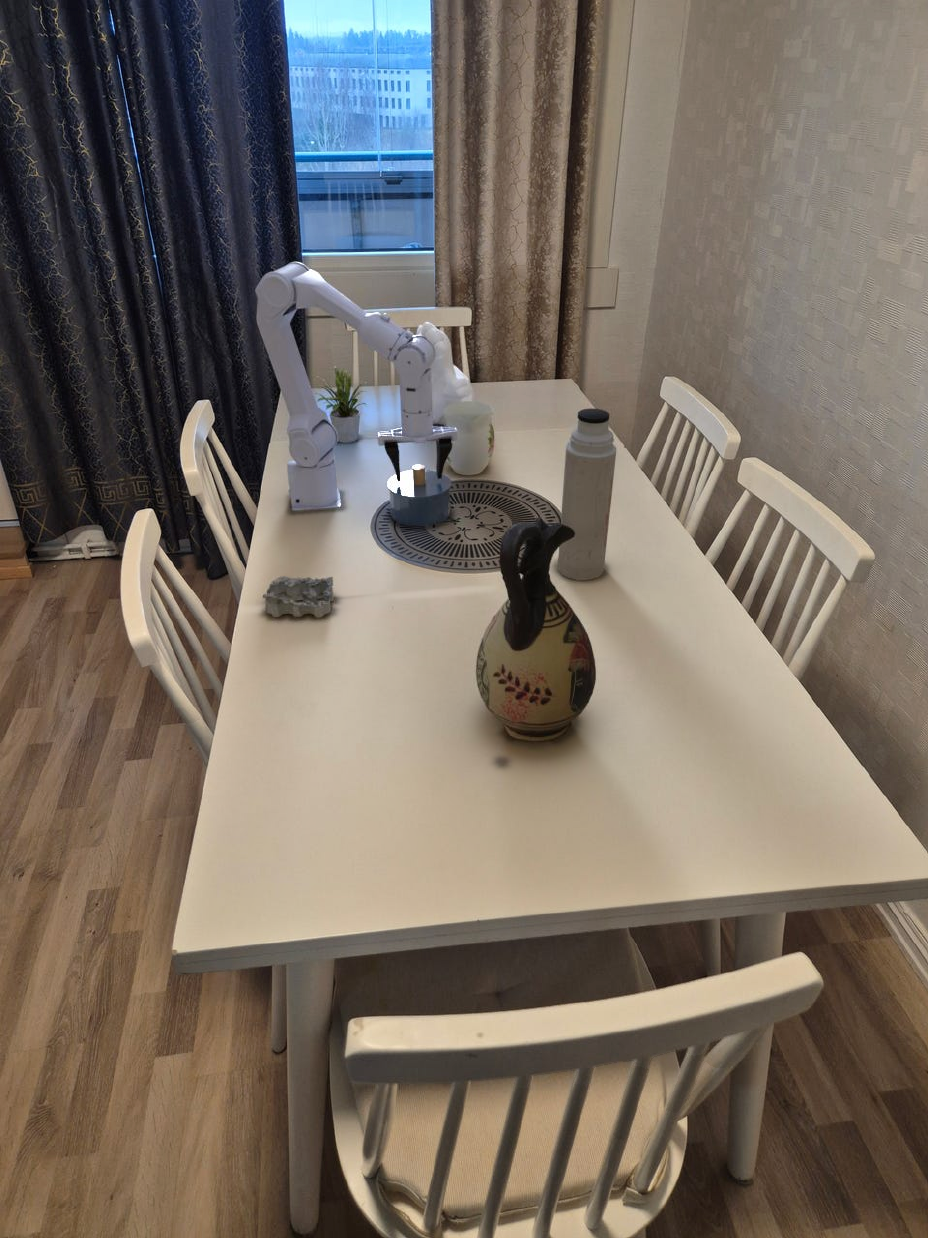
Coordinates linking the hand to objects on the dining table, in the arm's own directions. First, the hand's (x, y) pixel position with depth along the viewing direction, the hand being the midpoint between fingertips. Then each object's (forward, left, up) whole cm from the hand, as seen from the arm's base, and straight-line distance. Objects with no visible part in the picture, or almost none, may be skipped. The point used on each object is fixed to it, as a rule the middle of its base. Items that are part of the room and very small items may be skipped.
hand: (418, 477), depth 159 cm
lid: (0, 0, -2) cm, 2 cm away
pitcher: (+13, +21, -8) cm, 26 cm away
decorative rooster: (+11, +45, -8) cm, 47 cm away
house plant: (-13, +43, -8) cm, 46 cm away
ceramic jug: (+7, -63, -8) cm, 64 cm away
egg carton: (-23, -29, -8) cm, 38 cm away
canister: (0, 0, -8) cm, 8 cm away
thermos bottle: (+25, -25, -8) cm, 36 cm away
